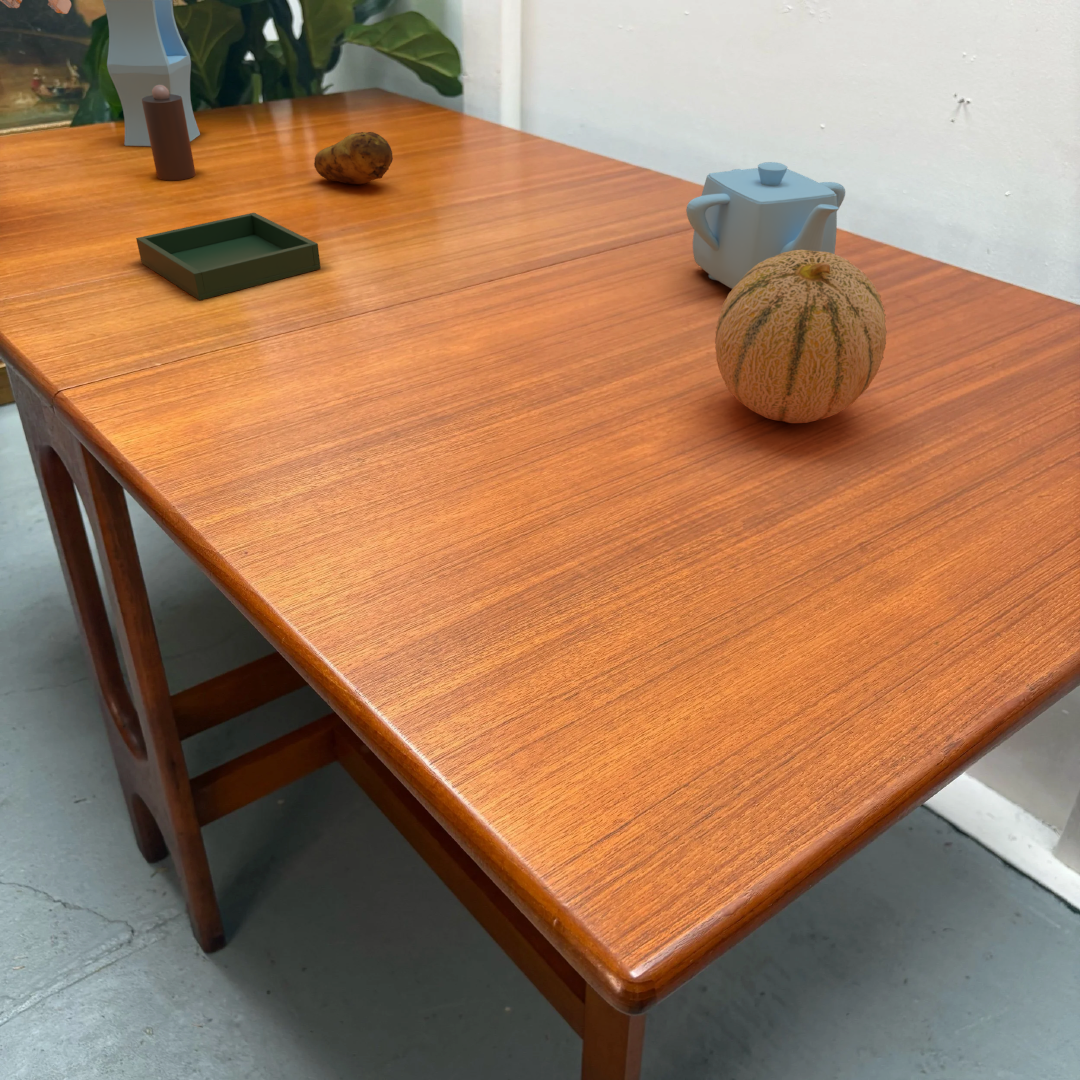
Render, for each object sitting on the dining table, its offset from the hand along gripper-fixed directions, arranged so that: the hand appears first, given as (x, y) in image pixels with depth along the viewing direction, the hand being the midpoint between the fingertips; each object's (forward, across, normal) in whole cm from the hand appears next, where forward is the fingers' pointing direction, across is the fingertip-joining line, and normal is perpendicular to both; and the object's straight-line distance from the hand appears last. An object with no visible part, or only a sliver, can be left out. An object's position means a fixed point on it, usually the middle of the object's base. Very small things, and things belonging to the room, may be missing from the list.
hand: (41, 6), depth 127 cm
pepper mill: (+30, -2, -6) cm, 30 cm away
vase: (+40, -21, +4) cm, 45 cm away
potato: (+38, +24, +2) cm, 45 cm away
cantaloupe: (+13, +104, -23) cm, 107 cm away
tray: (+13, +33, -22) cm, 42 cm away
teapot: (+33, +90, -3) cm, 96 cm away
